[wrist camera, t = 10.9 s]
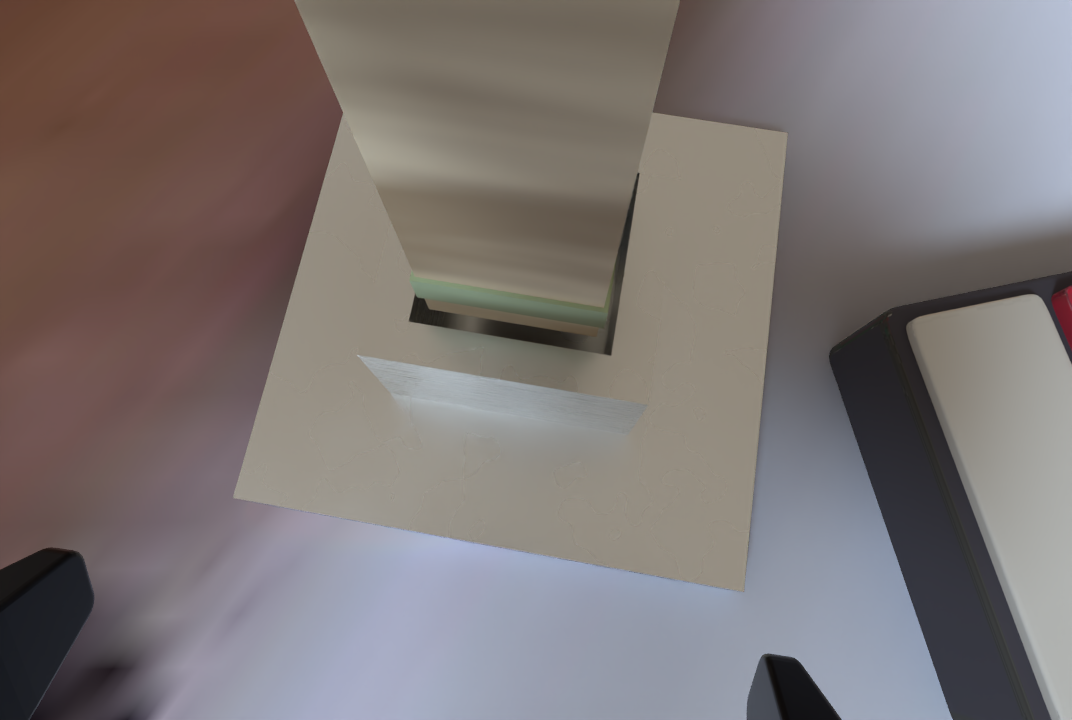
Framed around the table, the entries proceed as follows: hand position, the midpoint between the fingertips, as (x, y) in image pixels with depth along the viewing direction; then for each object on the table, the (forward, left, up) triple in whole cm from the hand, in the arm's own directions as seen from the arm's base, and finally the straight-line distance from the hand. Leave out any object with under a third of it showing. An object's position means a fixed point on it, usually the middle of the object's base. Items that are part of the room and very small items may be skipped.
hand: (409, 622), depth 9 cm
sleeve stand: (+3, -8, -11) cm, 14 cm away
